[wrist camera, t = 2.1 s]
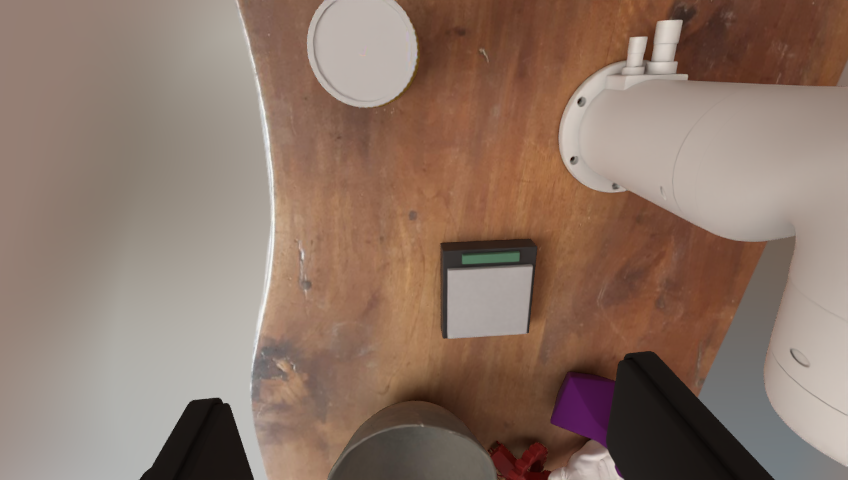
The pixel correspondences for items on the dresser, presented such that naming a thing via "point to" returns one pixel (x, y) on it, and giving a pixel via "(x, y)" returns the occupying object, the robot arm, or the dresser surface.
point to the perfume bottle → (585, 406)
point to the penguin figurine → (588, 465)
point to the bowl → (413, 447)
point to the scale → (487, 287)
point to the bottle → (363, 50)
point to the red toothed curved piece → (521, 463)
